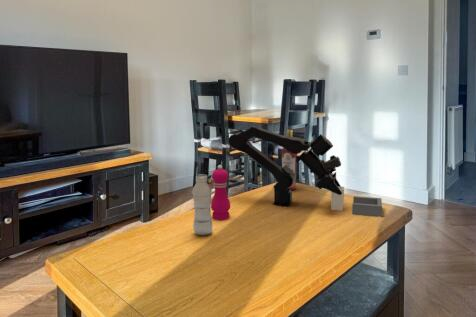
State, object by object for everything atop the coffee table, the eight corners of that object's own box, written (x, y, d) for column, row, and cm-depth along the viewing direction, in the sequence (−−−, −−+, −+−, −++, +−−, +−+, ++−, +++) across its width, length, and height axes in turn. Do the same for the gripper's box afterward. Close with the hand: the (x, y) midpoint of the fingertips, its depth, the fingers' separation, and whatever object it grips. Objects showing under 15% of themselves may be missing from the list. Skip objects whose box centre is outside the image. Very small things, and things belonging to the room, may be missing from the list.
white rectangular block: (330, 209, 154) (331, 188, 153) (331, 206, 159) (332, 185, 157) (342, 210, 153) (343, 189, 151) (343, 207, 157) (344, 186, 155)
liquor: (298, 188, 186) (299, 129, 180) (294, 192, 179) (295, 131, 174) (283, 186, 189) (284, 128, 183) (279, 190, 182) (279, 130, 177)
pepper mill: (207, 217, 147) (205, 165, 143) (220, 212, 152) (220, 162, 148) (220, 221, 142) (219, 168, 138) (234, 216, 147) (233, 164, 143)
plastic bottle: (197, 239, 127) (195, 178, 123) (190, 231, 133) (188, 174, 129) (215, 235, 129) (214, 176, 125) (208, 228, 135) (207, 172, 131)
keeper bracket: (352, 214, 149) (352, 203, 148) (353, 205, 159) (353, 196, 158) (381, 216, 146) (382, 206, 145) (380, 207, 156) (381, 198, 155)
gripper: (326, 154, 144) (356, 185, 142) (331, 146, 161) (358, 174, 160) (304, 173, 148) (333, 204, 146) (311, 164, 165) (337, 191, 164)
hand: (341, 192), depth 154 cm, fingers closed on white rectangular block, 4 cm apart
